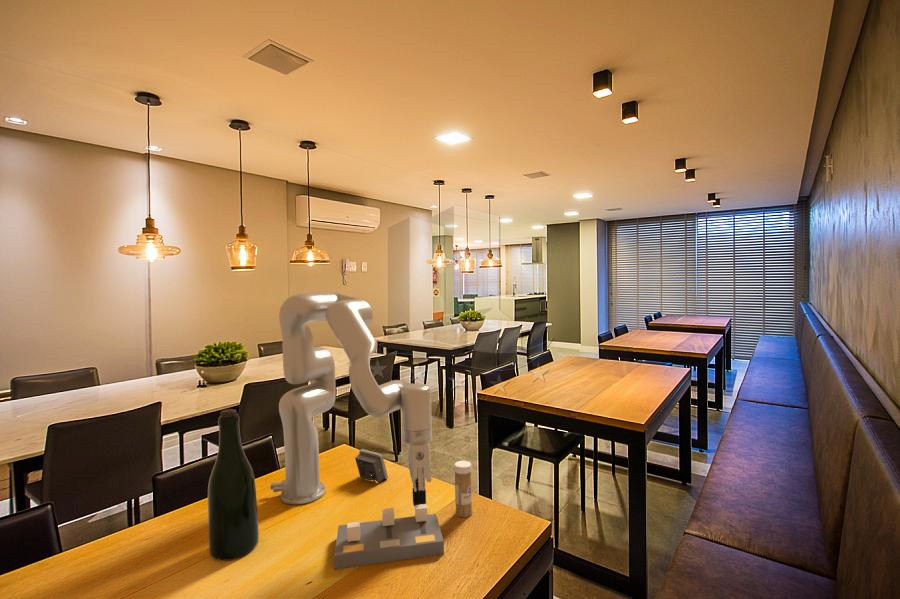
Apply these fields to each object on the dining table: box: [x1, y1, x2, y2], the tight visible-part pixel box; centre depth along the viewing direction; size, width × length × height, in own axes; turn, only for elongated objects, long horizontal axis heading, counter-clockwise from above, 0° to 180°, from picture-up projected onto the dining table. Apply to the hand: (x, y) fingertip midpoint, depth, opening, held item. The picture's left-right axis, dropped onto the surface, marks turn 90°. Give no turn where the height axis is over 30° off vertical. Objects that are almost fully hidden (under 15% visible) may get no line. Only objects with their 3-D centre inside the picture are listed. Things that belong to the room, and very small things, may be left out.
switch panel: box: [333, 513, 445, 570], centre depth 102 cm, size 24×12×3 cm, turn 100°
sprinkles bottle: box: [453, 460, 473, 518], centre depth 115 cm, size 5×5×13 cm
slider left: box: [347, 521, 361, 542], centre depth 99 cm, size 3×2×3 cm
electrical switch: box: [354, 448, 389, 484], centre depth 136 cm, size 9×5×9 cm, turn 57°
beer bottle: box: [207, 408, 260, 561], centre depth 102 cm, size 10×10×33 cm
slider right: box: [414, 503, 428, 522], centre depth 106 cm, size 3×2×3 cm
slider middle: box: [381, 507, 395, 526], centre depth 105 cm, size 3×2×3 cm
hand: (419, 504), depth 111 cm, fingers closed
